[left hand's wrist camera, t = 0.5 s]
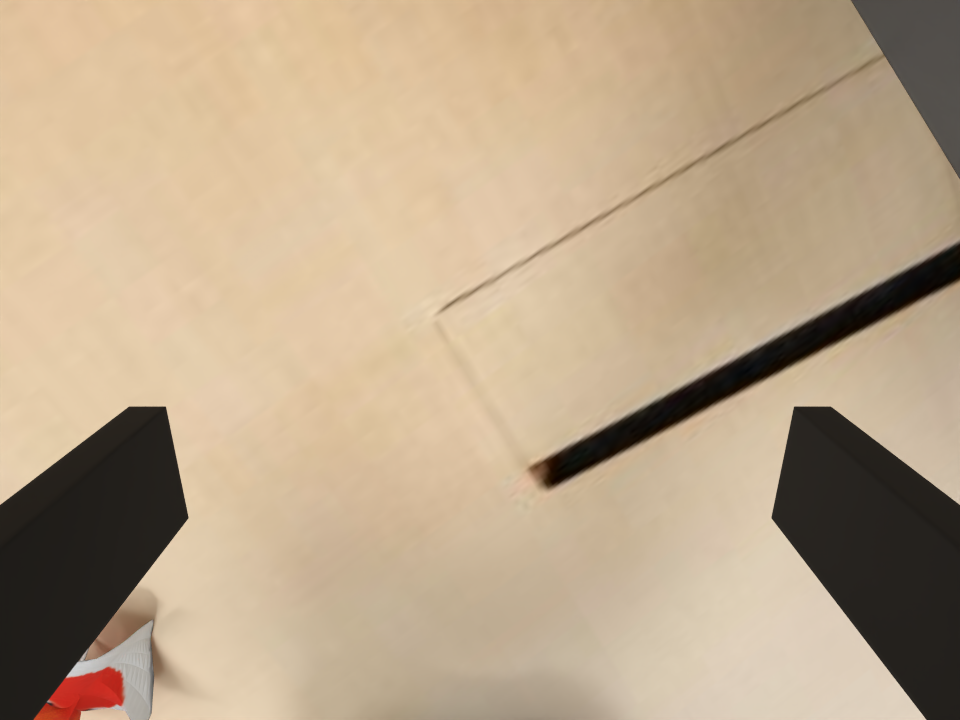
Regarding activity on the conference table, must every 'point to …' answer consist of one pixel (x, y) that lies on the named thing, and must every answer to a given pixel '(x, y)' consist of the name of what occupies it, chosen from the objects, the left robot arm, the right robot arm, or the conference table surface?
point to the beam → (923, 59)
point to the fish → (108, 682)
